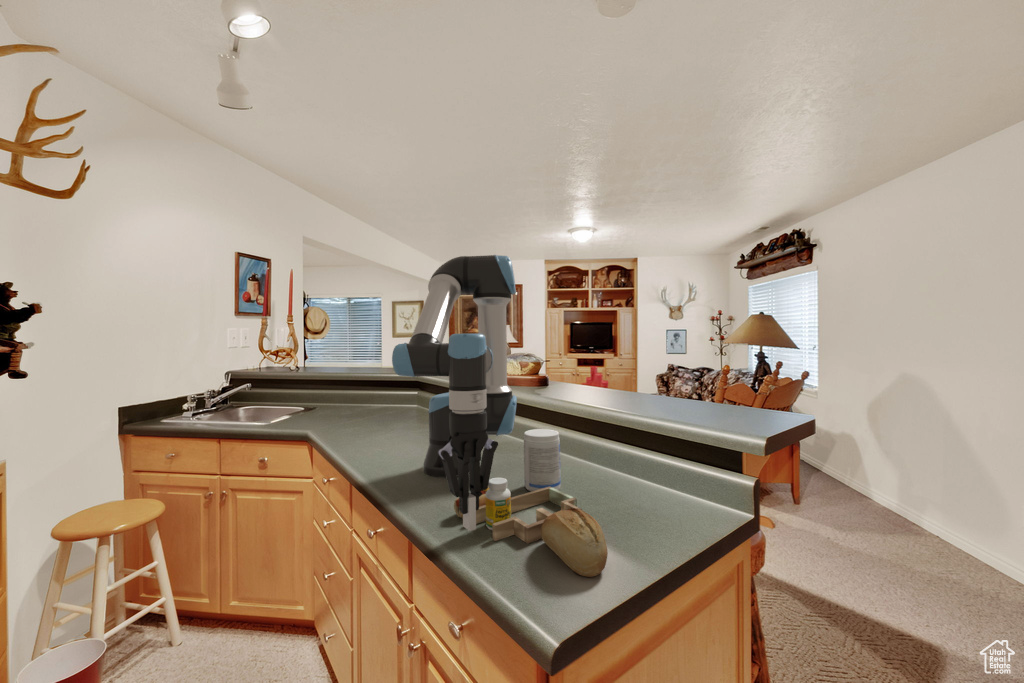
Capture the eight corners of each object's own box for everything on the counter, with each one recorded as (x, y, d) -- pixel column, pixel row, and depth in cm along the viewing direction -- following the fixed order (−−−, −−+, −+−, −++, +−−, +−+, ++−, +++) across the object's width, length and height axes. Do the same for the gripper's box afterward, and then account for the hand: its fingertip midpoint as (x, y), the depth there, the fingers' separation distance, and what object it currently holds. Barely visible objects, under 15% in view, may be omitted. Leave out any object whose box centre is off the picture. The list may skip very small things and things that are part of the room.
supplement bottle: (502, 517, 87) (501, 474, 87) (516, 527, 83) (515, 481, 83) (481, 524, 84) (480, 479, 84) (494, 534, 79) (494, 487, 79)
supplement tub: (568, 489, 103) (567, 433, 103) (539, 498, 98) (538, 438, 98) (545, 479, 111) (544, 426, 111) (517, 486, 106) (516, 431, 106)
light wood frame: (471, 523, 85) (471, 509, 85) (549, 498, 97) (549, 486, 97) (508, 551, 73) (508, 535, 73) (591, 519, 86) (591, 505, 86)
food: (495, 499, 98) (495, 478, 98) (511, 505, 94) (511, 484, 94) (449, 517, 88) (448, 494, 88) (464, 525, 84) (464, 501, 84)
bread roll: (570, 533, 80) (569, 494, 80) (623, 571, 67) (622, 524, 67) (529, 546, 75) (528, 504, 75) (577, 589, 62) (577, 538, 62)
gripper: (446, 417, 72) (448, 545, 73) (505, 409, 80) (506, 525, 80) (430, 411, 79) (431, 529, 79) (486, 404, 86) (487, 512, 86)
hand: (469, 527), depth 79 cm, fingers closed
